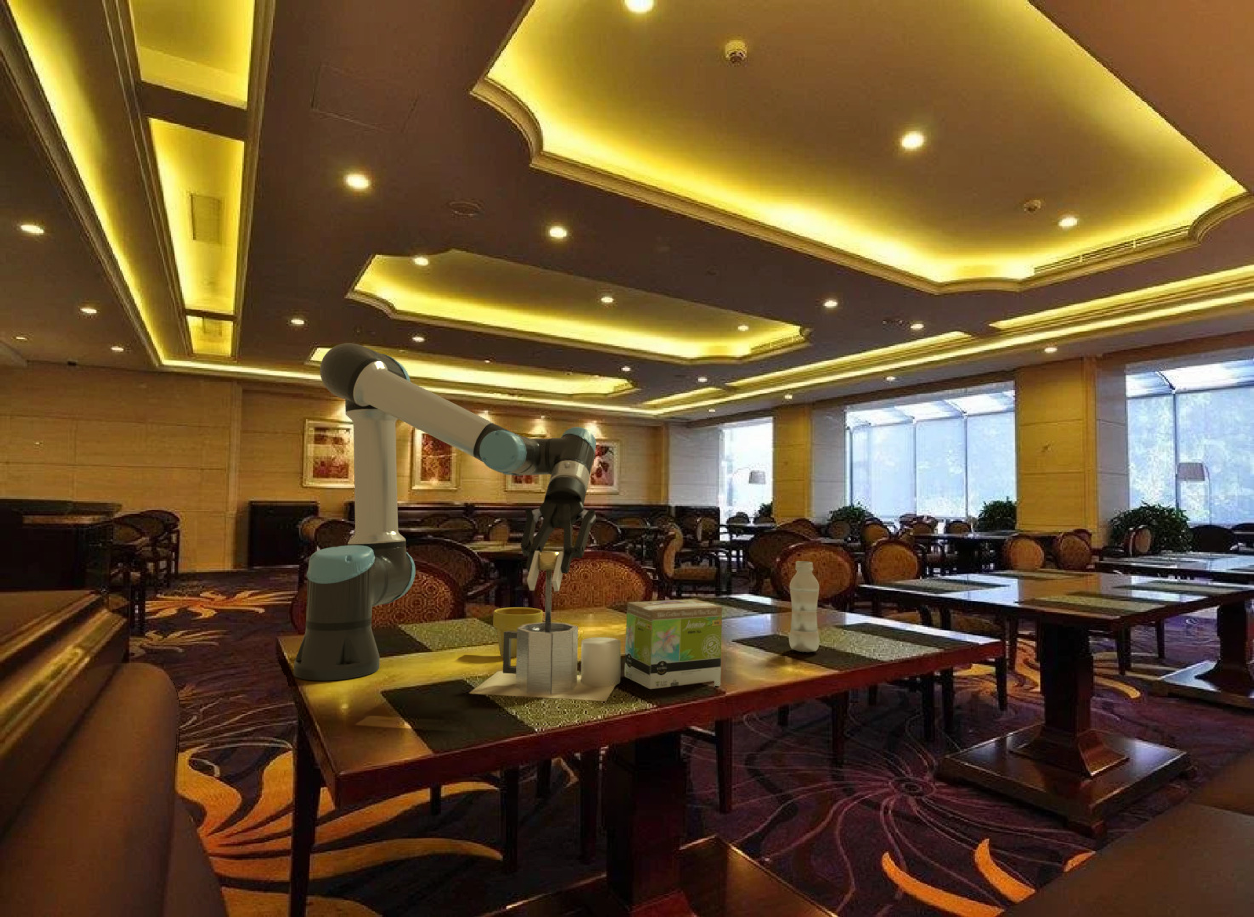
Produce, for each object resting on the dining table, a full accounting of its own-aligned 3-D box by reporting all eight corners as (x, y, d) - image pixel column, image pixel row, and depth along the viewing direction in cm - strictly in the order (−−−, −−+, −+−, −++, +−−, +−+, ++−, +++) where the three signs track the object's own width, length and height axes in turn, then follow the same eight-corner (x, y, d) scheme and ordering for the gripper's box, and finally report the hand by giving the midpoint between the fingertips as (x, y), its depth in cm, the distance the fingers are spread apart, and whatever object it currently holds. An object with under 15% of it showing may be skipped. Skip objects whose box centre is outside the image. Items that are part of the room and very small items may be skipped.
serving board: (468, 700, 113) (468, 693, 113) (498, 677, 128) (498, 670, 128) (605, 708, 110) (605, 700, 110) (620, 683, 124) (620, 677, 124)
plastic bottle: (795, 647, 158) (795, 560, 159) (824, 651, 154) (823, 562, 155) (784, 652, 153) (784, 562, 154) (813, 656, 149) (813, 564, 150)
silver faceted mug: (494, 691, 114) (495, 631, 115) (512, 676, 124) (513, 620, 124) (567, 695, 112) (569, 634, 113) (580, 680, 122) (581, 623, 122)
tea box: (650, 697, 117) (651, 609, 117) (623, 682, 125) (624, 601, 126) (722, 687, 123) (723, 604, 124) (692, 674, 132) (693, 597, 133)
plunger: (522, 641, 115) (524, 553, 116) (533, 634, 122) (535, 550, 123) (562, 643, 114) (564, 554, 115) (571, 635, 121) (573, 551, 122)
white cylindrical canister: (576, 685, 118) (577, 644, 119) (585, 675, 125) (585, 636, 126) (616, 687, 117) (617, 646, 118) (622, 677, 124) (623, 638, 125)
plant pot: (546, 652, 149) (547, 607, 149) (535, 664, 138) (536, 615, 139) (500, 651, 150) (501, 606, 150) (485, 662, 140) (487, 613, 140)
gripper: (522, 474, 131) (490, 570, 114) (607, 475, 129) (588, 572, 111) (529, 502, 136) (500, 597, 119) (611, 503, 134) (594, 601, 116)
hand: (543, 585), depth 115 cm, fingers closed on plunger, 4 cm apart
